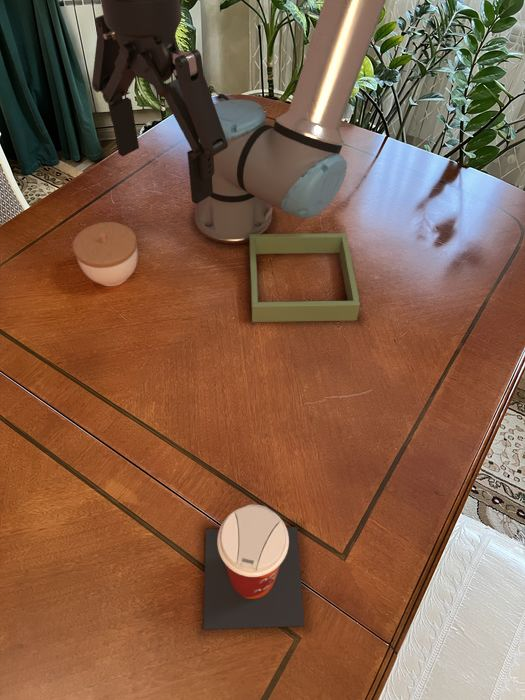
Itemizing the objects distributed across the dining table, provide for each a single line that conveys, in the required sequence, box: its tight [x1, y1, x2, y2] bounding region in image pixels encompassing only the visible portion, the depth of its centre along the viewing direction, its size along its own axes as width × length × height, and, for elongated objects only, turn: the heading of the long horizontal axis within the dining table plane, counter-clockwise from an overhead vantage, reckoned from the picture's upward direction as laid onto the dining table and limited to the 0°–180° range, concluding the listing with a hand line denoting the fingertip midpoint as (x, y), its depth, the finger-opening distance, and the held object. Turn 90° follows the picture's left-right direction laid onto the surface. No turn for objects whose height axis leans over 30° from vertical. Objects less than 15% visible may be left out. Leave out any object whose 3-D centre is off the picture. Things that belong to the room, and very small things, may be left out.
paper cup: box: [217, 504, 289, 599], centre depth 66 cm, size 8×8×14 cm
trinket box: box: [72, 221, 139, 287], centre depth 100 cm, size 11×11×9 cm
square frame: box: [249, 232, 361, 323], centre depth 102 cm, size 18×18×4 cm
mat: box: [202, 526, 305, 631], centre depth 72 cm, size 12×12×1 cm
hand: (164, 173), depth 70 cm, fingers open, 13 cm apart
